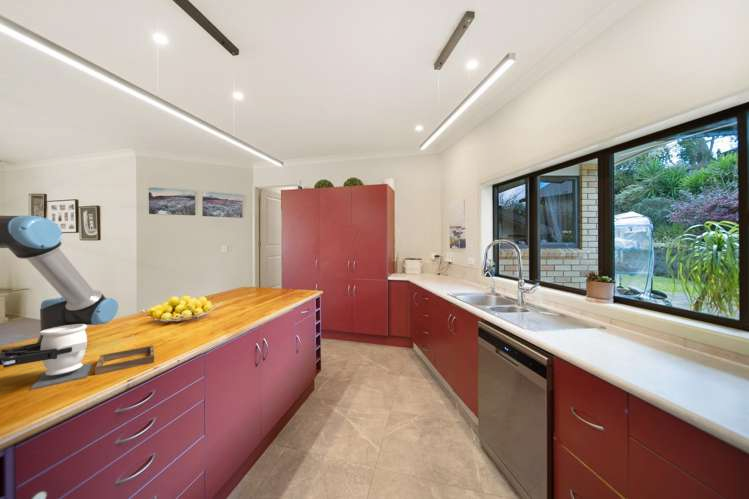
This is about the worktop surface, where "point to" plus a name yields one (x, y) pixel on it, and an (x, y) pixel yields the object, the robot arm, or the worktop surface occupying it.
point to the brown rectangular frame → (125, 364)
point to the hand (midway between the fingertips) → (82, 342)
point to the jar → (63, 338)
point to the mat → (62, 377)
